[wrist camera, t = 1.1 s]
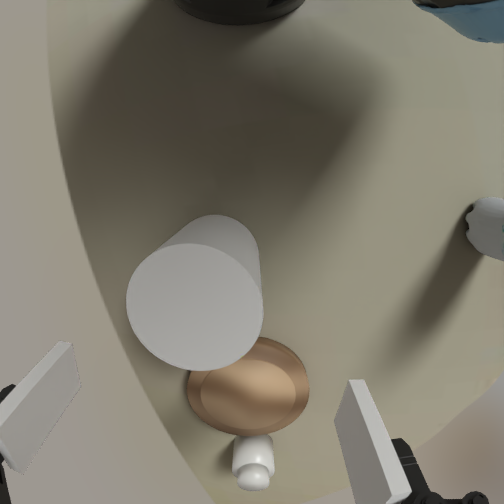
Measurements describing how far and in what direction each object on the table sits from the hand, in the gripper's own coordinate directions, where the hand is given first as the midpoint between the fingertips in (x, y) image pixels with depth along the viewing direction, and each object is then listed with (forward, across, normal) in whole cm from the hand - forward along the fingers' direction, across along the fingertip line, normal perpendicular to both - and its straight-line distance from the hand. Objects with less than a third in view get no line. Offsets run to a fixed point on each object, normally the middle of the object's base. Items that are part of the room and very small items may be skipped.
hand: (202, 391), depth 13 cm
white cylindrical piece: (+17, -2, +1) cm, 17 cm away
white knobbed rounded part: (+17, +5, -23) cm, 29 cm away
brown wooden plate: (+17, +3, -13) cm, 21 cm away
